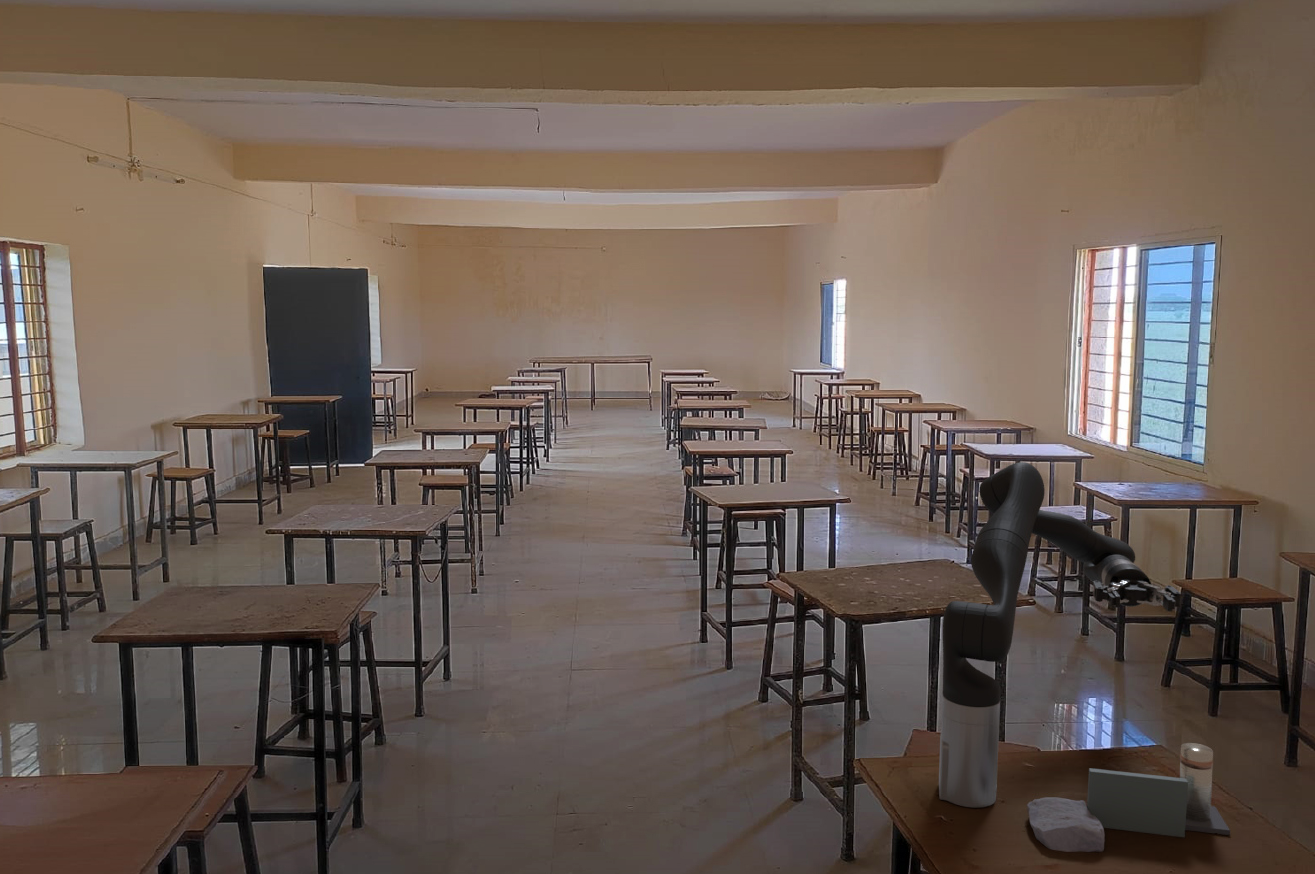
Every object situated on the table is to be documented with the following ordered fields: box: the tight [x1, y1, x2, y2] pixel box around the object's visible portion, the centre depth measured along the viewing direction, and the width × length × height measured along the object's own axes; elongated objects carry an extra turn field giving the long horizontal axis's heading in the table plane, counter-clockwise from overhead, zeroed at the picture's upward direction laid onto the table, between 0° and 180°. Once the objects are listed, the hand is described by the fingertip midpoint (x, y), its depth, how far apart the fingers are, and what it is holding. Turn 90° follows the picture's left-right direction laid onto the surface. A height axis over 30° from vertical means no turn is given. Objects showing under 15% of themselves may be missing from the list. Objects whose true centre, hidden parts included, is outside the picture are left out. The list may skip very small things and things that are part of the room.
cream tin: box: [1179, 742, 1214, 821], centre depth 156 cm, size 5×5×11 cm
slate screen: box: [1086, 768, 1188, 838], centre depth 153 cm, size 14×1×9 cm, turn 75°
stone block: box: [1026, 796, 1106, 853], centre depth 152 cm, size 12×5×10 cm
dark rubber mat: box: [1185, 805, 1231, 836], centre depth 156 cm, size 8×8×1 cm
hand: (1144, 604), depth 173 cm, fingers open, 8 cm apart
